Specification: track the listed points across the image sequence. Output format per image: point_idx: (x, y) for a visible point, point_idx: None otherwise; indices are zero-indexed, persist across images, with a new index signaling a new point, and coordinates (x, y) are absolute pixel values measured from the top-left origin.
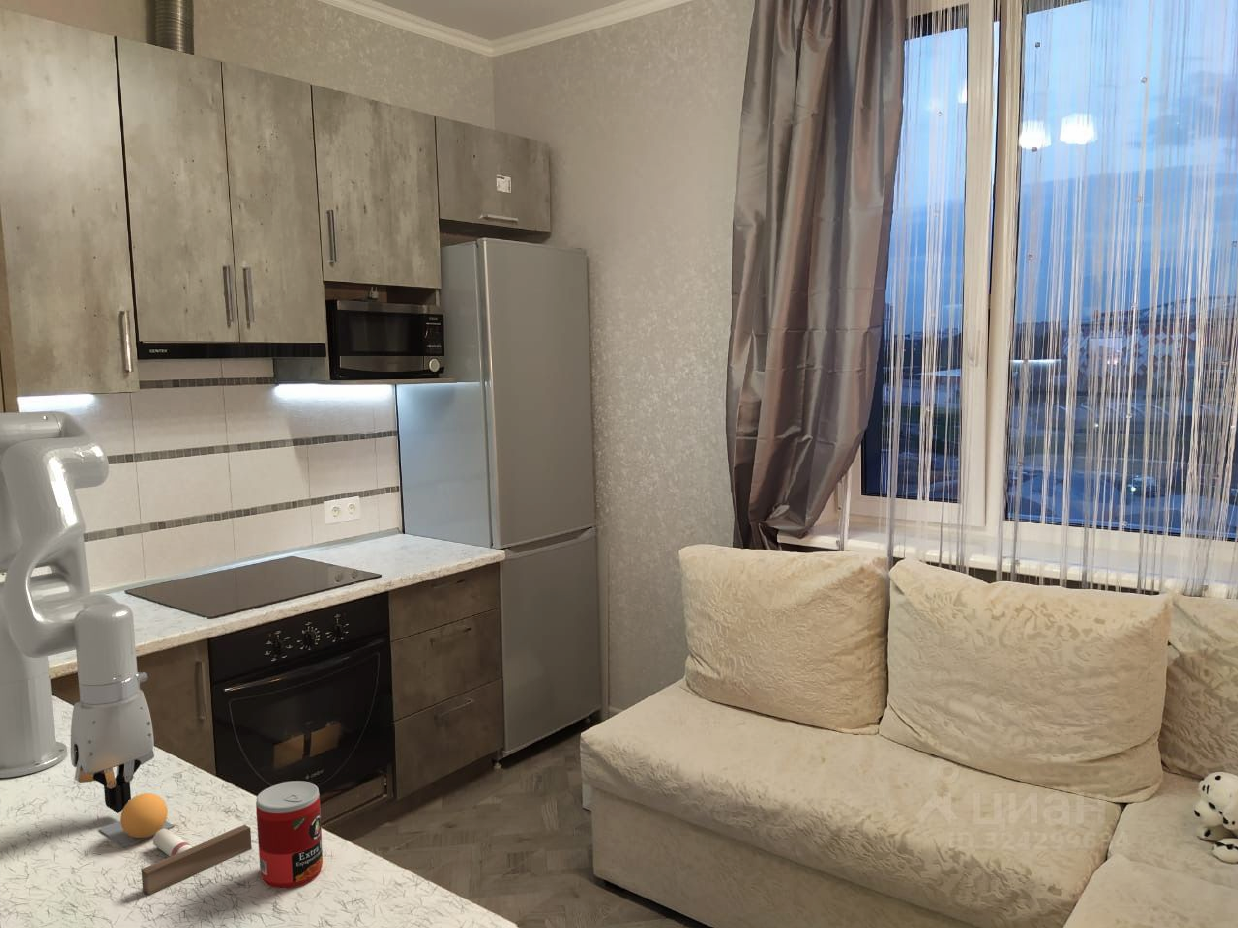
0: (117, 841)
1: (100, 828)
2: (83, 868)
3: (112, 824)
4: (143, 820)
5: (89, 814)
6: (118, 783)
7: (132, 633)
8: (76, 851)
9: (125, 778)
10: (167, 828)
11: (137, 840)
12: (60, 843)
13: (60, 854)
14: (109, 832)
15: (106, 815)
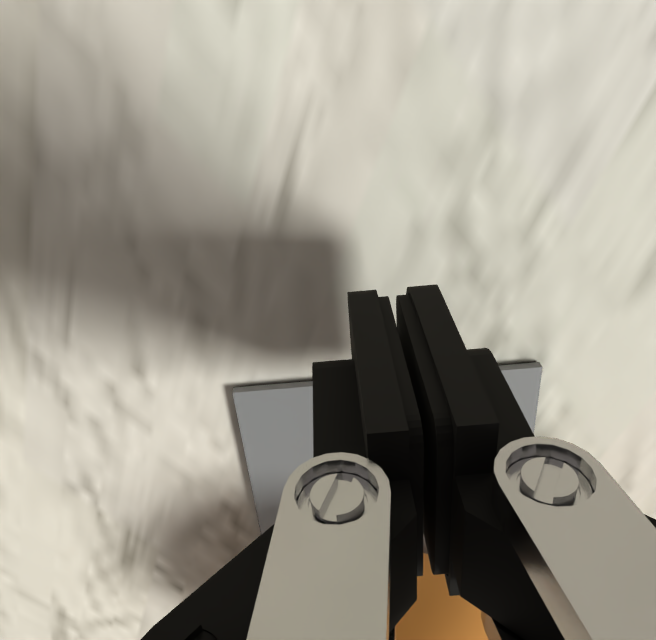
0: None
1: (241, 392)
2: (98, 636)
3: (311, 394)
4: None
5: (246, 89)
6: (440, 519)
7: None
8: (88, 510)
9: (493, 632)
10: None
11: None
12: (15, 382)
13: (12, 489)
14: (266, 466)
15: (336, 216)
